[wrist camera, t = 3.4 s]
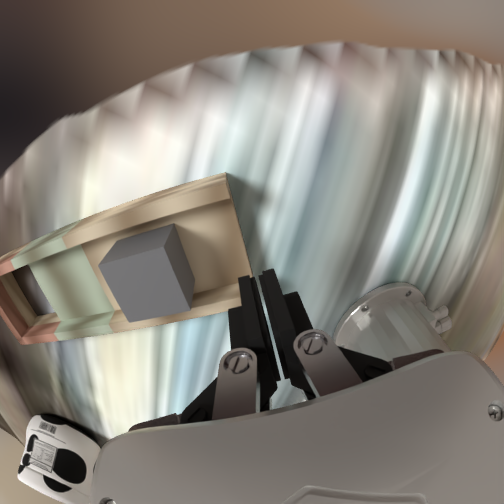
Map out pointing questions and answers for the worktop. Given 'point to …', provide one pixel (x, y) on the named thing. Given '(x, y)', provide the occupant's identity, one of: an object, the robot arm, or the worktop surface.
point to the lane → (101, 241)
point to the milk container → (58, 460)
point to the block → (149, 274)
